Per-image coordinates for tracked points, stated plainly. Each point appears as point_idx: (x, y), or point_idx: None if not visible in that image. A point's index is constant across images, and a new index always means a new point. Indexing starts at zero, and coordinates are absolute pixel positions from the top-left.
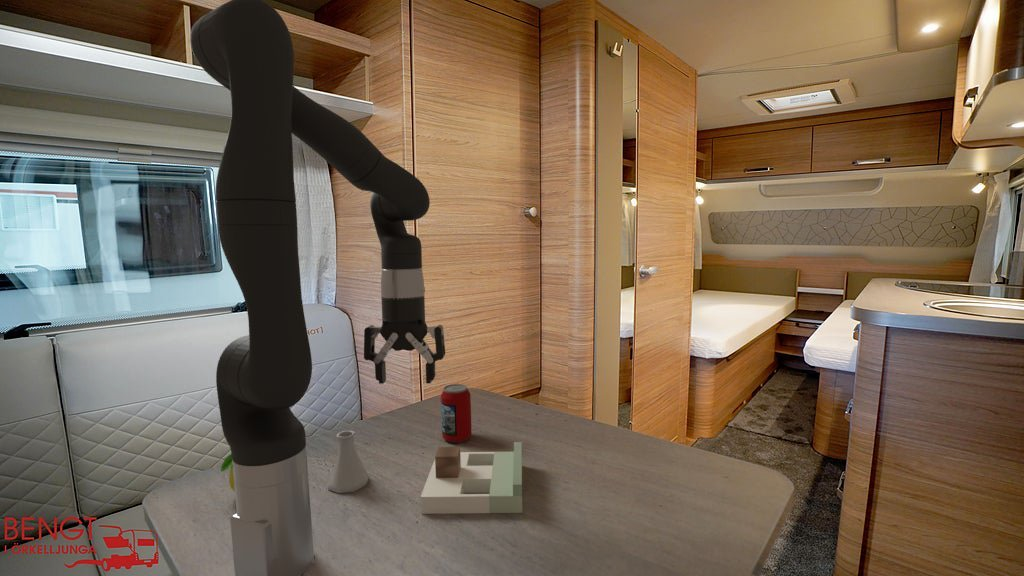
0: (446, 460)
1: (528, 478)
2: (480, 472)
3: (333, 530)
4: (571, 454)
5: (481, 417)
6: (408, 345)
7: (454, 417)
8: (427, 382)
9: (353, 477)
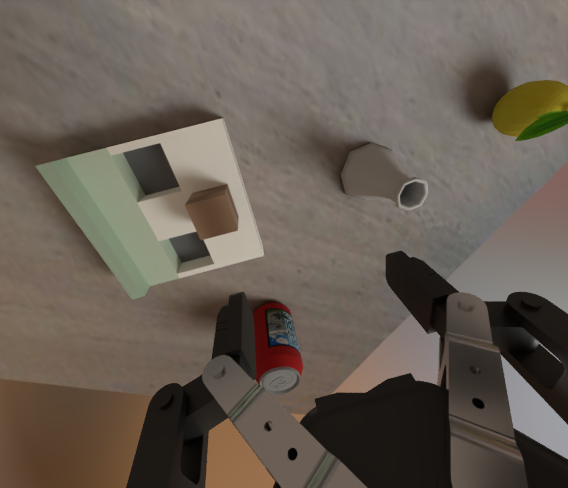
0: (205, 197)
1: None
2: (165, 216)
3: (335, 38)
4: (95, 318)
5: None
6: (344, 428)
7: (269, 330)
8: (237, 293)
9: (360, 161)
